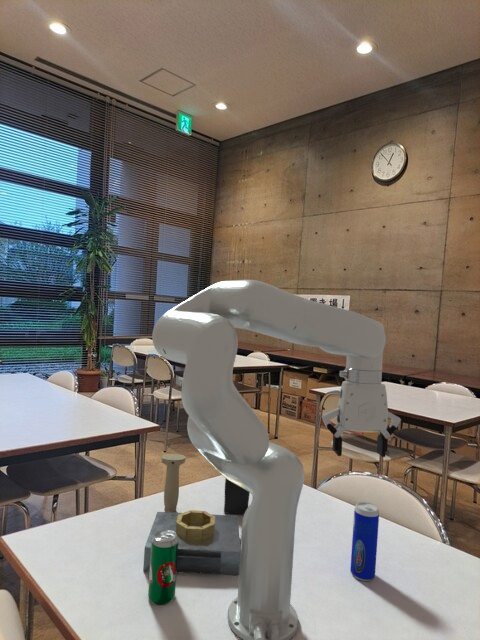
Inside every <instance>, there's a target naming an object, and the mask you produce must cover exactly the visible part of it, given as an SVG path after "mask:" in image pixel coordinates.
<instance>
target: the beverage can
mask: <svg viewBox="0 0 480 640" xmlns="http://www.w3.org/2000/svg"><path fill="white" fill-rule="evenodd" d="M379 521H380V511H379V508H378V506H377V505H376V504H373V503H371V502H365V501H361V502H357V503H355V507H354V511H353V524H352V526H353V527H352V539H351V556H350V567H349V568H350V573H351V574H352V576H353V578H355V579H356V580H358V581H361V582H371V581H373V580H374V579H375V577H376V570H377V569H376V566H377V565H376V564H377V552H378V551H377V550H378V537H379V536H378V535H379V525H380V524H379Z"/></svg>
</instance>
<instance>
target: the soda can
mask: <svg viewBox="0 0 480 640" xmlns="http://www.w3.org/2000/svg"><path fill="white" fill-rule="evenodd" d="M177 555H178V538H177V535H176V533H175V532H174V531H171V530H161V531H158V532H156V533H155V534H154V538H153V539H152V541H151V557H150V571H149V573H148V574H149V575H148V578H149V579H148V593H147V594H148V595H147V597H148V599H149V601H150V602H152V604H155V605H157V606H164V605H167V604H169V603H171V602H172V601H173V600H174V598H175V596H176V583H177V573H178V572H177Z"/></svg>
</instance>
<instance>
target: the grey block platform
mask: <svg viewBox="0 0 480 640" xmlns="http://www.w3.org/2000/svg"><path fill="white" fill-rule="evenodd" d="M239 523H240V522H239V515H235V514H233V515H232V514H231V515H229V514H211V513H209V512H207V511H206V510H194V509H193V510H192V509H191V510H187V511H184V512H175V513H172V512H165V511H157V512H156V514H155V518H154V520H153V523H152V526H151V529H150V532H149V534H148V537H147V539H146V543H145V545H144V552H143V569H142V571H143V572H150V557H151V541H152V539H153V538H154V534H155V533H156V532H158V531H161V530H171V531H174V532H175V533H176V535H177V538H178V555H177V572H176V573H178V574H179V573H182V574H183V573H184V574H203V575H226V576H239V566H240V550H241V539H240V524H239Z"/></svg>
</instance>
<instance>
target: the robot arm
mask: <svg viewBox="0 0 480 640" xmlns="http://www.w3.org/2000/svg"><path fill="white" fill-rule="evenodd" d="M236 329H241V330H246V331H247V330H248V331H251V332H255V333H258V334H260V335H265V336H268V337H271V338H276V339H279V340H281V341H285V342H288V343H290V344H297V345H301V346H307V347H315V348H316V347H317V348H319V349H320V350H322V351H324V352H325V353H327V354H332V355H339V356H346V361H345V362H346V366H345V368H344V370H339V373H338V375H339V377H340V378H344V379H345V381H343V380H342V383H341V386H340V392H339V395H338V401H337V407H336V408H334V409H332V410H329V411H328V412H326V413H323V414H322V415H321V419H322V421H323V423H324V425H325V428H327V429H328V430H329V432H330V433H331V434H332V451H333V452H334V453H335V454H336V455H337V457H342V455H343V454H342V453H343V437H342V435H343V434H344V432H346V431H351V432H353V431H355V432H378V433H379V434H378V436H376V437H377V438H376V439H377V441H376V453H377V454H378V455H379V456H380V457H382V458H386V453H387V452H388V444H389V443H388V442H389V439H390V438H391V436H392V435H393V434H394V433H395V432H396V431H397V428H398V427H399V425H400V423H401V421H402V419H401V418H400V417H399V416H398V415H396V414H394V413H392V412H390V411H389V410H388V409H389V408H388V407H389V406H388V395H387V388H386V385H385V383H382V379H383V377H382V375H383V360H384V359H383V358H384V357H383V356H384V348H385V347H386V346H385V345H386V342H387V339H386V333H385V325H384V324H383V323H382V322H381V321H378V320H377V321H376V320H375V319H373V318H370V317H368V316H366V315H364V314H361V313H359V312H356V311H353V310H349V309H345V308H340V307H336V306H332V305H329V304H326V303H323V302H318V301H315V300H311V299H307V298H303V297H301V296H298V295H296V294H295V293H294V294H293V293H291V292H289V291H287V290H284V289H281V288H279V287H277V286H275V285H272V284H270V283H267V282H264V281H260V280H257V279H235V280H222V281H218V282H216V283H213V284H212V285H210V286H207V287H206V288H205V289H202V290H200V291H199V292H198V293H196V294H194V295H192V296H191V297H189V298H188V299H186V300H185V301H182V302H181V303H179V304H178V305H175V306H174V307H173V308H171V309H169V310H167V311H166V312H165V313H163V315H161V317H159V318H158V320H157V321H156V322H155V325H154V327H153V330H152V338H151V339H152V340H151V341H152V344H153V346H154V349H155V351H156V352H157V353H158V354H159V355H160V356H161V357H163V359H166V360H167V361H168V360H169V361H171V362H175V363H179V364H182V365H185V366H184V369H183V376H182V381H181V382H182V383H181V392H180V393H181V394H180V395H181V396H180V397H181V403H182V407H183V409H184V411H185V412H186V414H187V415H188V418H187V423H186V426H187V429H186V431H187V435H188V438H189V441H190V442H191V444H192V446H194V448H195V449H196V450H197V451H198V452H199V453H200V455H202V456H203V457H204V458H205V460H206V461H207V462H209V464H211V466H212V467H213V468H214V469H215V470H217V472H218V473H220V475H222V476H223V478H225V479H228V480H229V481H231V482H233V483H234V484H236V485H238V486H240V487H242V488H243V489H245V490H247V491H248V492H250V494H251V496H252V500H251V502H250V504H248V508H247V510H246V511H245V513H244V514H243V517H242V522H241V532H240V533H241V535H240V536H241V539H240V561H239V575H238V583H237V584H238V585H237V597H235V598H234V599H233V600H232V601H231V603H230V605H229V606H228V610H227V622H228V624H229V627H230V629H231V630H232V632H233V633H234V634H236V635H237V637H239V638H240V639H242V640H291V639H292V638H293V637H294V636H295V634H296V632H297V629H298V625H299V616H298V614H297V611H296V609H295V608H294V606H293V605H292V604H291V597H292V585H293V584H292V581H293V580H292V578H293V577H292V576H293V568H294V567H293V564H294V551H295V550H294V549H295V535H296V534H295V533H296V519H297V511H298V505H299V501H300V497H301V494H302V490H303V487H304V482H305V468H304V465H303V463H302V461H301V459H300V458H299V457H298V456H297V455H296V454H295V453H294V452H292V451H291V450H290V449H288V448H286V447H284V446H281V445H278V444H276V443H273V442H271V441H270V436H269V432H268V430H267V427H266V425H265V424H264V422H263V421H262V419H261V418H260V417H259V416H258V414H257V413H256V411H254V409H253V408H252V407H251V406H250V405H249V403H248V402H247V401H246V399H245V398H244V397H243V396H242V395H241V393H240V392H239V391H238V389H237V387H236V386H235V384H234V379H233V373H234V372H233V370H234V366H235V362H236V357H237V353H238V348H239V346H238V344H239V341H238V340H239V339H238V334H237V331H236ZM333 418H336V422H337V423H336V424H335V425H333V424H332V421H331V420H332V419H333ZM389 419H390V423H389Z"/></svg>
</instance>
